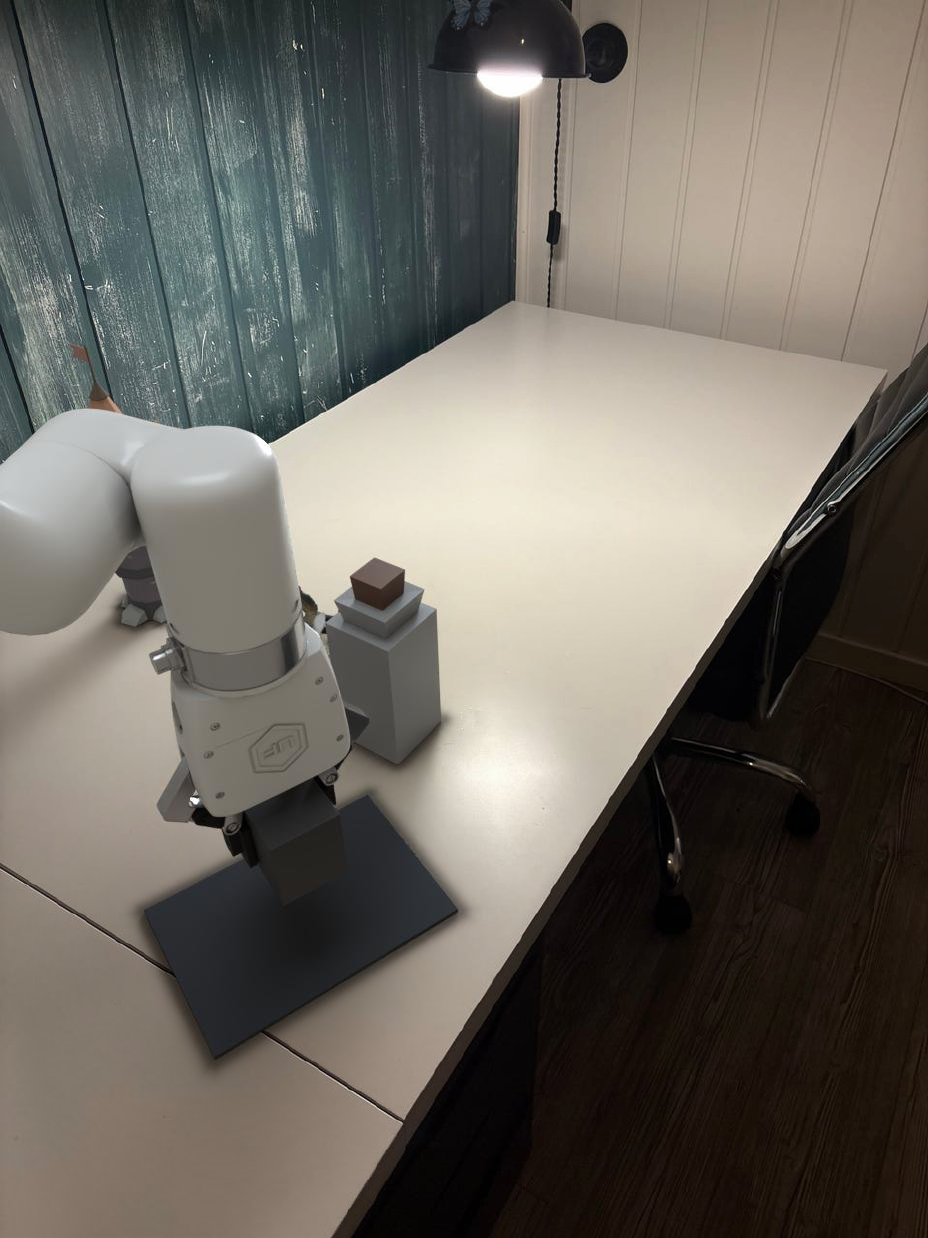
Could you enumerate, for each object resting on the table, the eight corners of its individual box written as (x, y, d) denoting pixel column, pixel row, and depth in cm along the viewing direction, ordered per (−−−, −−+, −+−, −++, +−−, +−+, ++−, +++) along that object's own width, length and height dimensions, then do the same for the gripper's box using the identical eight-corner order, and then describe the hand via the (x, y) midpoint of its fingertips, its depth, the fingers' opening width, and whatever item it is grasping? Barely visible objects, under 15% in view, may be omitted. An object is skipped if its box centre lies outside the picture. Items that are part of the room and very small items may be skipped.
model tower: (225, 589, 104) (168, 330, 85) (151, 642, 97) (72, 373, 78) (165, 564, 108) (99, 312, 89) (90, 613, 101) (1, 350, 82)
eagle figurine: (362, 605, 99) (287, 579, 100) (353, 584, 93) (272, 556, 94) (336, 669, 97) (259, 642, 99) (324, 653, 91) (241, 623, 92)
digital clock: (351, 869, 63) (342, 813, 60) (283, 906, 61) (269, 850, 57) (287, 779, 70) (275, 723, 66) (223, 810, 68) (208, 754, 64)
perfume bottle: (441, 720, 87) (434, 565, 76) (397, 765, 83) (384, 607, 72) (385, 693, 90) (371, 541, 79) (340, 735, 86) (319, 579, 75)
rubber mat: (215, 1059, 62) (214, 1057, 62) (144, 912, 71) (143, 910, 71) (458, 911, 71) (458, 909, 71) (367, 796, 80) (367, 794, 80)
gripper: (118, 735, 48) (189, 933, 59) (398, 615, 55) (414, 812, 66) (75, 658, 52) (149, 855, 64) (338, 557, 60) (362, 750, 71)
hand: (283, 831), depth 65 cm, fingers closed on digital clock, 5 cm apart
